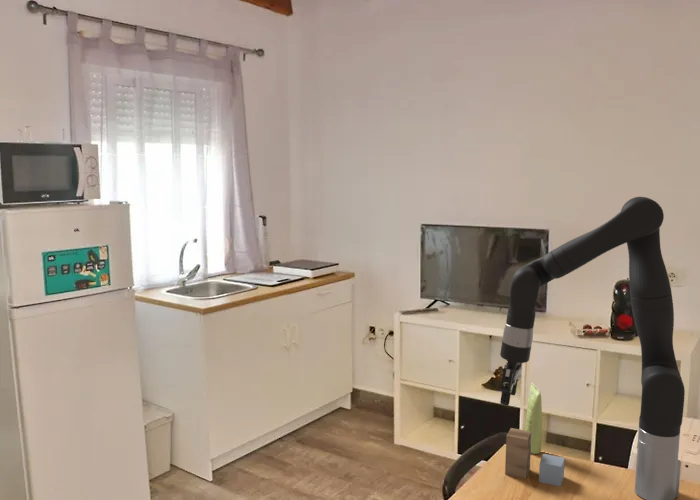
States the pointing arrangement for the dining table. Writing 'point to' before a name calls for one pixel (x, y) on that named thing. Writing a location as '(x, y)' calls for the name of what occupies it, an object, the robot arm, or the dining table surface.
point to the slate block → (551, 470)
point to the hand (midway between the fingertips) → (507, 399)
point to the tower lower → (517, 466)
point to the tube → (534, 419)
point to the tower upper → (518, 443)
